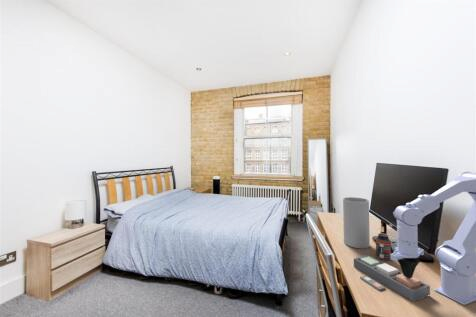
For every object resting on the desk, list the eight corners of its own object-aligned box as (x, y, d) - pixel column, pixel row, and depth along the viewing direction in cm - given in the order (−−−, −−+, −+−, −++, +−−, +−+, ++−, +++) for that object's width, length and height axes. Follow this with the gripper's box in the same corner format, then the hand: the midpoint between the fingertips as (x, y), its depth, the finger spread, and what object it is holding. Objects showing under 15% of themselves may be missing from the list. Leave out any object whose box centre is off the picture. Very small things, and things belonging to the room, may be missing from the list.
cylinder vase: (367, 241, 116) (366, 198, 115) (371, 250, 104) (370, 202, 104) (343, 238, 121) (342, 196, 121) (344, 246, 110) (343, 201, 109)
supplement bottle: (384, 262, 94) (384, 237, 93) (372, 255, 99) (372, 233, 99) (394, 259, 95) (394, 236, 95) (382, 254, 101) (381, 231, 101)
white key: (385, 270, 84) (385, 263, 84) (398, 277, 79) (398, 269, 79) (376, 272, 82) (376, 265, 82) (389, 279, 78) (388, 271, 78)
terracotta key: (405, 280, 77) (405, 272, 77) (420, 288, 72) (420, 280, 72) (395, 283, 75) (395, 275, 75) (410, 292, 70) (410, 283, 70)
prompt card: (365, 276, 83) (365, 275, 83) (385, 289, 75) (385, 287, 75) (360, 278, 82) (360, 276, 82) (379, 290, 74) (379, 289, 74)
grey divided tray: (368, 262, 93) (368, 255, 93) (429, 295, 71) (429, 286, 71) (353, 266, 91) (353, 258, 91) (413, 301, 68) (413, 291, 68)
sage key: (368, 263, 91) (368, 256, 91) (379, 268, 86) (379, 262, 86) (360, 265, 89) (360, 258, 89) (370, 271, 85) (370, 264, 85)
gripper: (408, 233, 79) (409, 267, 80) (381, 238, 75) (382, 274, 75) (430, 240, 73) (430, 277, 73) (402, 246, 68) (402, 286, 68)
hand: (407, 276), depth 74 cm, fingers closed
